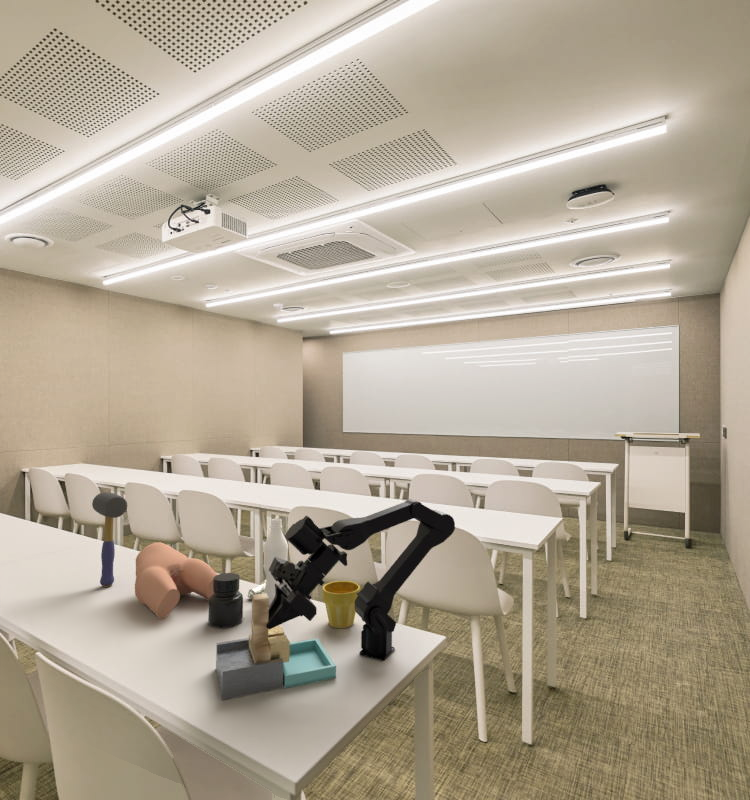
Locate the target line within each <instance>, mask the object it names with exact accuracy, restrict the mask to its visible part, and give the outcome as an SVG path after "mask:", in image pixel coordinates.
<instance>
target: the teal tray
mask: <svg viewBox="0 0 750 800" xmlns="http://www.w3.org/2000/svg"><path fill="white" fill-rule="evenodd" d="M336 678H337V665H336V664H335V662H334V661H333V659H332V657H330V655H329V654H328V652H327V650H326V649H325V647H324V646H323V644H322V643H321V641H320V640H319V638H312V639H311V638H310V639H306V640H299V641H295V642H290V654H289V662H286V663H283V689H289V688H293V687H298V686H303V685H309V684H312V683H317V682H318V683H319V682H322V681H326V680H332V679H336Z"/></svg>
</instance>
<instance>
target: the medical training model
mask: <svg viewBox="0 0 750 800" xmlns="http://www.w3.org/2000/svg"><path fill="white" fill-rule="evenodd" d="M216 575H219V574H218V573H217V572H216V571H215V570H214V569H213V568H212V567H211V566H210V565H209V564H207V563H206V562H205V561H203V560H201V559H198V558H193V557H191V558H189V557H188V556H186V555H185V554H183V553H182V552H180V551H178V550H176V549H174V548H173V547H171V546H170V545H168V544H166V543H163V542H160V541H159V542H152V543H151V544H149V545H147V546H145V547H144V548H142V550H141V551H139V553H138V554H137V555H136V557H135V581H134V595H135V597H136V599H137V600H138V602H139V603H141V604H143V605H146V607H148V609H150V610H151V612H153V613H154V614H155V615H156V616H157V618H158V619H159V620H164V619H165V618H167V617H168V616H169V615H170V614H171V612H172V611H173V610H174V608H175V607H176V606H177V604H178V603H179V601H180V599H181V595H182V596H186V595H189V594H190V593H195V594H197V595H198V596H200V597H202V598H204V599H205V600H207V601H208V602H209V598H210V597H211V596H212V595H213V593H214V592H213V578H214V577H215V576H216ZM163 618H164V619H163Z"/></svg>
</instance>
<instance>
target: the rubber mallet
mask: <svg viewBox="0 0 750 800" xmlns="http://www.w3.org/2000/svg"><path fill="white" fill-rule="evenodd" d="M91 503H92V508H93V510H94V511H95V512H96V513H98V514H99V515H102V516H104V535H103V537H104V538H103V543H102V547H101V557H100V558H101V576H100V580H99V584H100V585H101V586H102V587H103V588H108V587H111V586H113V584H114V582H115V577H114V562H115V561H114V560H115V556H116V555H115V554H116V553H115V551H116V550H115V542H114V522H115V521H114V519H115V518H119V517H121V516H124V514H125V513H126V511H127V509H128V502H127V500H126V498H124V497H123V496H121V495H119V494H116V493H113V492H106V491H104V492H99V493H98V494H97V495H96V496H94V498H93V500H92V502H91Z"/></svg>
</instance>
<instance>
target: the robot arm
mask: <svg viewBox="0 0 750 800" xmlns="http://www.w3.org/2000/svg"><path fill="white" fill-rule="evenodd" d="M413 519H415V520H417V522H419V523H418V528H417V532H416V535H415V537H414V538H413V539H412V540H411V542H409V544H408V546H406V548H405V549H404V550H403V551H402V552H401V553H400V555H399V556H398V557H397V559H396V560H395V561H394V562H393V564H392V565H391V566H390V567H389V569H388V570H387V571H386V572H385V573H384V575H383V576H381V578H380V579H379V580H378V581H376V582H374V583H371V582H370V581H367V582H366V583H365V584H364V585H363V587H362V589H360V592H358V593H357V595H358V596H357V598H356V599H355V602H354V603H355V611H356V613H355V614H357V615H358V616H359V617H360V618H361V620H362V621H363V622H364V623H365V624H363V625H362V630H361V633H360V634H361V636H360V648H361V650H360V651H359V653H358V654H359V655H360V656H363V657H367V658H370V659H374V660H378V661H385V660H386V659H387V658H388V657H389V656H391V654H392V653H393V652H394V651H395V650H396V649H395V646H393V632H394V631H395V629H396V625H397V621H395V619H393V618H392V617H391V616H390V615H389V613H390V611H391V609H392V606H393V604H394V603H393V601H394V598H395V595H396V593H398V591H399V590H400V588H401V587H402V586H403V585H404V584H405V582H406V581H407V580H408V579H409V578H410V576H411V575H412V573H413V572H414V571H415V570H416V569H417V568H418V566H419V565H420V563H421V562H422V561H423V560H424V558H425V557H427V555H428V553H430V551H431V550H432V549H433V548H435V547H437V546H439V545H441V544H443V543H445V542H446V540H448V538H450V537H451V536H452V535H453V534H454V532H455V530H456V525H455V524H456V523H455V519H454V518H453V516H451V515H450V514H448V513H445V512H442V511H440V510H437V509H432V508H429V507H427V506H426V505H424V504H422V503H421V502H420V501H418V500H415V499H412V498H409V499H406V500H405V501H404V502H401V503H399V504H396V505H393V506H391V507H388V508H385V509H383V510H379V511H377V512H374V513H372V514H368V515H367V516H363V517H362V516H361V517H351V518H344V519H339V520H337V521H335V522H333V524H332V525H328V526H324V527H323V526H322V527H320V528H319V527H318V526H317V525H316V523H315V522H314V520H313V519H311V518H310V517H309V516H308V515H305V516H304V517H303V518H301V519H299V520H298V521H296V522H294V523H293V524H291V526H290V527H289V528H288V529H287V531H286V533H285V534H284V537H285V539H286V541H288V542H289V543H290V544H291V545H292V546H293V547H294V548H295V549H296V550H297V551H298V552H299V553H300V554H302V555H304V556H305V555H309V556H308V557H307V559H305V560H304V561H303V560H299V561H298V562H297V563H296V564H295V563H294V562H291V561H289V560H287V561H286V560H283V559H280V558H278V557H274V559H273V561H272V564H271V566H270V568H269V571H270V572H271V575H272V576H273V578H274V579H275V580H276V581H278V582H279V583H280V584H279V585H277V584H275V597H274V599H273V601H272V603H271V605H270V606H269V615H268V623H267V625H266V627H267V628H268V629H272V628H274V627H276V626H280V625H283V624H284V623H286V622H289V621H291V620H293V619H296V618H299V617H303V616H304V618H305V619H306V620H308V621H309V622H311V621H312V620H313V619H314V617H315V616H316V615H317V606H316V605H315V604H314V603H313V602H312V601H311V599H312V596H311V594H312V593H313V591H314V590H315V589H316V588H317V587H318V585H319V586H321V587H323V586H324V585H325V584H326V583H325V581H324V579H325V578H326V577H327V575H328V574H329V573H330V572H331V571H332V569H333V568H334V567H335V566H336V565H337V564H338V563H341V564H342V565H343V566H344V567H347V566H348V559H347V558H348V553H347V552H345V551H352V550H354V549H356V548H357V547H359V546H361V545H362V544H364V543H365V542H366V541H367V540H369V538H370V537H372V536H373V535H375V534H378V533H380V532H383V531H385V530H387V529H391V528H394V527H395V526H398V525H400V524H402V523H405V522H409V521H410V520H413ZM324 540H326V541H327V542H328V543H329V544H328V545H327V544H326V543H325V541H324ZM336 546H337V547H339V548H341V550H342V549H343V550H345V551H340V550H339V548H337V547H336Z"/></svg>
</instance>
